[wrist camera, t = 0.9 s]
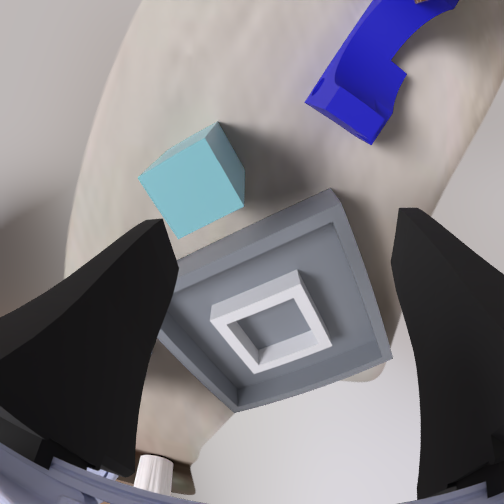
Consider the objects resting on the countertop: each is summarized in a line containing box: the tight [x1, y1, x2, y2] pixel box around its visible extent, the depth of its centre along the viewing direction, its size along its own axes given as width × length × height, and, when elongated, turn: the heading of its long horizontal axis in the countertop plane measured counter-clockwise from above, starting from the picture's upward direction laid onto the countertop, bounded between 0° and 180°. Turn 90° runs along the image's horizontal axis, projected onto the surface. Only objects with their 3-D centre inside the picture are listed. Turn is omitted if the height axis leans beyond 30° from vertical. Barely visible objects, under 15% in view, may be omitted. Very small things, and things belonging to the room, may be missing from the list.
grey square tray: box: [157, 188, 393, 413], centre depth 27 cm, size 18×18×3 cm
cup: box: [134, 455, 173, 496], centre depth 41 cm, size 8×8×14 cm
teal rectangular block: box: [138, 121, 245, 239], centre depth 19 cm, size 4×4×7 cm
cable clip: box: [305, 0, 459, 145], centre depth 15 cm, size 12×4×6 cm, turn 150°
